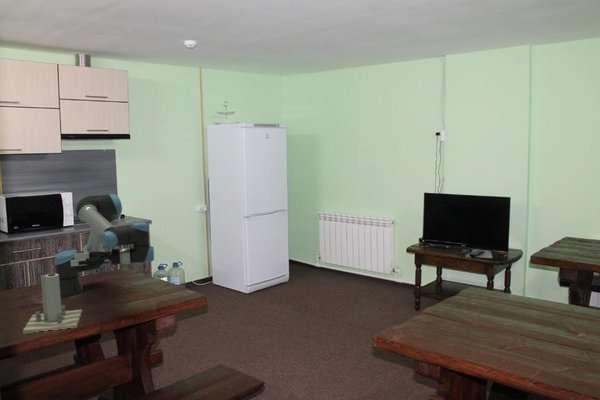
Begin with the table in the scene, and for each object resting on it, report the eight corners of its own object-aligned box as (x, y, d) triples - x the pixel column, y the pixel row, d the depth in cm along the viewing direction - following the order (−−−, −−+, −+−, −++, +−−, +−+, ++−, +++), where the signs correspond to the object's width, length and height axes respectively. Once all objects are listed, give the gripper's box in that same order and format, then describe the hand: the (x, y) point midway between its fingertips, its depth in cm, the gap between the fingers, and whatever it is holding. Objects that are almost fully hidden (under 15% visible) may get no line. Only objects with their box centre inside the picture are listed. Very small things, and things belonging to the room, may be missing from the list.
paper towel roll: (64, 318, 238) (61, 274, 236) (51, 322, 234) (48, 277, 231) (56, 315, 243) (53, 272, 240) (44, 319, 238) (40, 274, 236)
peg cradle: (33, 317, 245) (32, 305, 244) (82, 312, 252) (81, 300, 251) (23, 333, 224) (21, 320, 224) (76, 327, 231) (76, 315, 230)
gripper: (120, 270, 232) (69, 274, 226) (121, 258, 256) (76, 261, 250) (119, 254, 231) (68, 258, 225) (121, 243, 255) (75, 246, 249)
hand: (72, 259), depth 237 cm, fingers open, 13 cm apart
